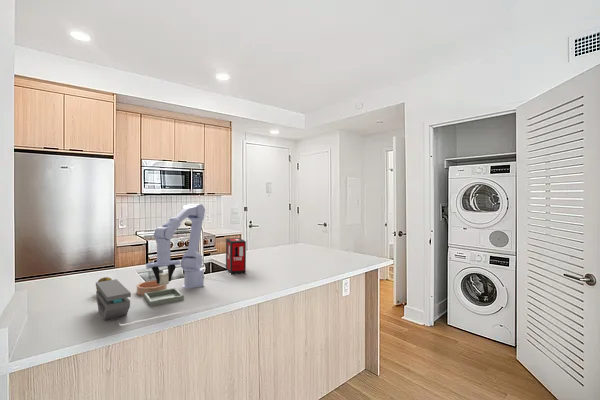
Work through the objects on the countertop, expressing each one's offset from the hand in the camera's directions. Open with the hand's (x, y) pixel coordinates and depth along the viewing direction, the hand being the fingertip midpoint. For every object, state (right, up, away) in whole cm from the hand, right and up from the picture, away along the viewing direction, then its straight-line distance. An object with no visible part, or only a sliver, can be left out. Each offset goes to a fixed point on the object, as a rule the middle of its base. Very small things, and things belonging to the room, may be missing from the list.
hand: (163, 281), depth 143 cm
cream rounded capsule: (0, -1, 0) cm, 1 cm away
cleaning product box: (+22, -8, +55) cm, 60 cm away
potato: (-31, -8, +6) cm, 32 cm away
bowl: (-11, -8, +11) cm, 17 cm away
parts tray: (0, -8, 0) cm, 8 cm away
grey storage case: (-14, -9, -17) cm, 23 cm away
